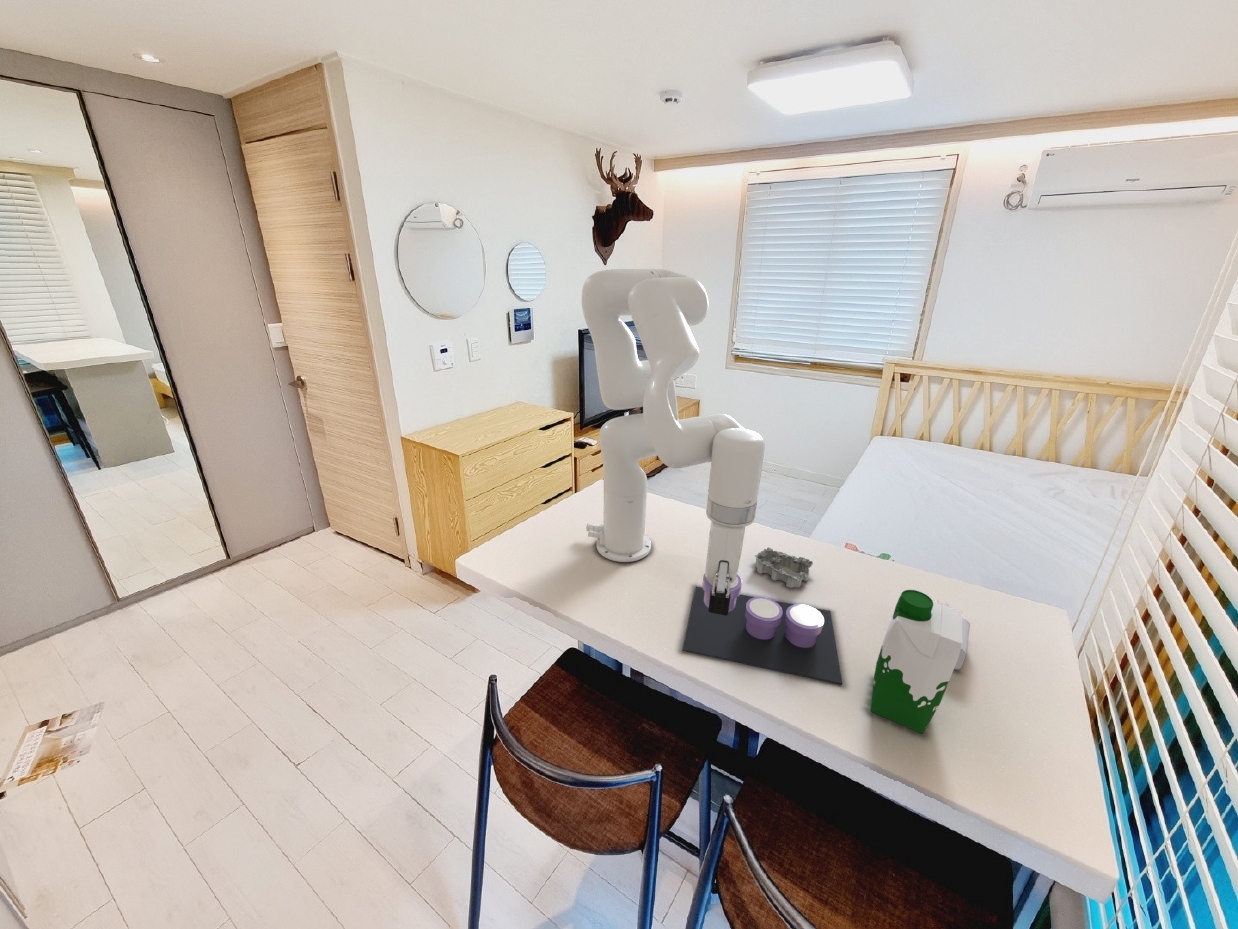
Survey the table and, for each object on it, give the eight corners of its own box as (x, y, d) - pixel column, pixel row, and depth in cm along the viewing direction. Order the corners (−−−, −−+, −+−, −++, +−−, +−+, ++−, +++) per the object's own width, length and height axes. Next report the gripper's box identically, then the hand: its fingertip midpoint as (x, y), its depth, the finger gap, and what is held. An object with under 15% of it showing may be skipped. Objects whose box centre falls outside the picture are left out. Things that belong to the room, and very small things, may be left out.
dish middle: (741, 637, 90) (745, 616, 88) (743, 614, 96) (746, 593, 94) (778, 645, 89) (783, 623, 87) (778, 620, 94) (782, 600, 92)
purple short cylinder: (698, 610, 84) (701, 587, 82) (703, 587, 90) (705, 564, 88) (737, 618, 82) (741, 594, 80) (739, 594, 88) (742, 571, 86)
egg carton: (812, 577, 107) (816, 562, 105) (794, 593, 102) (797, 576, 101) (768, 555, 114) (771, 540, 112) (749, 568, 109) (752, 553, 108)
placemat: (682, 650, 87) (682, 649, 87) (695, 587, 103) (696, 586, 103) (842, 684, 81) (842, 683, 81) (830, 612, 97) (830, 610, 97)
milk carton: (871, 674, 83) (901, 576, 75) (933, 699, 79) (973, 598, 71) (862, 713, 77) (895, 610, 68) (930, 742, 72) (974, 636, 64)
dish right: (782, 645, 88) (786, 624, 86) (781, 621, 94) (785, 600, 92) (820, 653, 87) (826, 631, 85) (817, 628, 93) (822, 607, 91)
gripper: (712, 481, 87) (703, 566, 94) (700, 531, 72) (691, 629, 79) (756, 486, 85) (744, 573, 92) (754, 540, 70) (739, 639, 77)
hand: (720, 598), depth 86 cm, fingers closed on purple short cylinder, 6 cm apart
